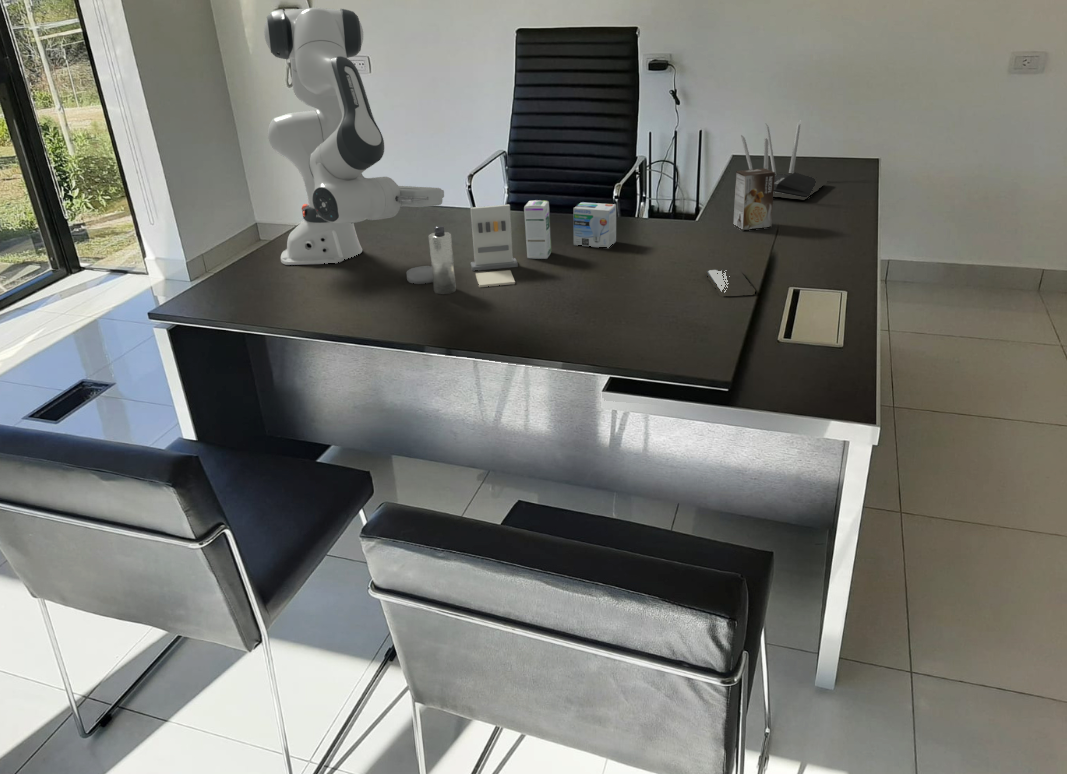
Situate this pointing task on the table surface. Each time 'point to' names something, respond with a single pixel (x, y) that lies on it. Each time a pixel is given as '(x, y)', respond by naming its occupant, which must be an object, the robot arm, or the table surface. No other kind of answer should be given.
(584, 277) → the table surface
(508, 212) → the breaker panel
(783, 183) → the wireless router
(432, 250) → the metal bottle
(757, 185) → the coffee box
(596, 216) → the light bulb box
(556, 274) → the table surface
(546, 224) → the syrup box
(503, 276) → the pad
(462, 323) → the table surface
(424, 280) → the grey hockey puck
